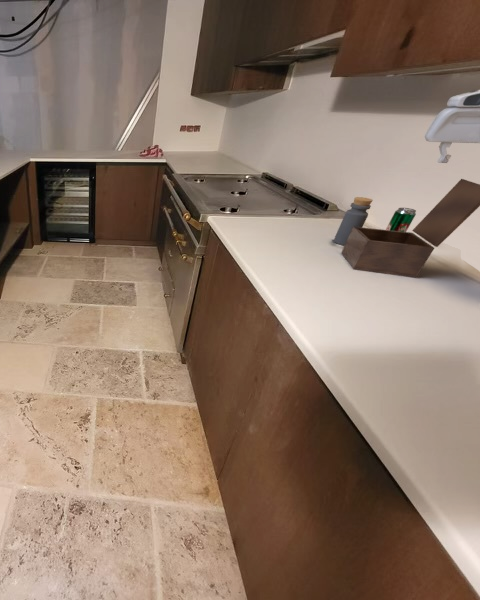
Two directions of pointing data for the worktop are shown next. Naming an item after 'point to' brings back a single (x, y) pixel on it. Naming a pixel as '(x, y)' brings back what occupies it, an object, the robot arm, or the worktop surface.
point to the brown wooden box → (386, 251)
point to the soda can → (401, 219)
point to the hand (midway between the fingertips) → (468, 163)
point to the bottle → (353, 219)
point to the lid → (449, 212)
